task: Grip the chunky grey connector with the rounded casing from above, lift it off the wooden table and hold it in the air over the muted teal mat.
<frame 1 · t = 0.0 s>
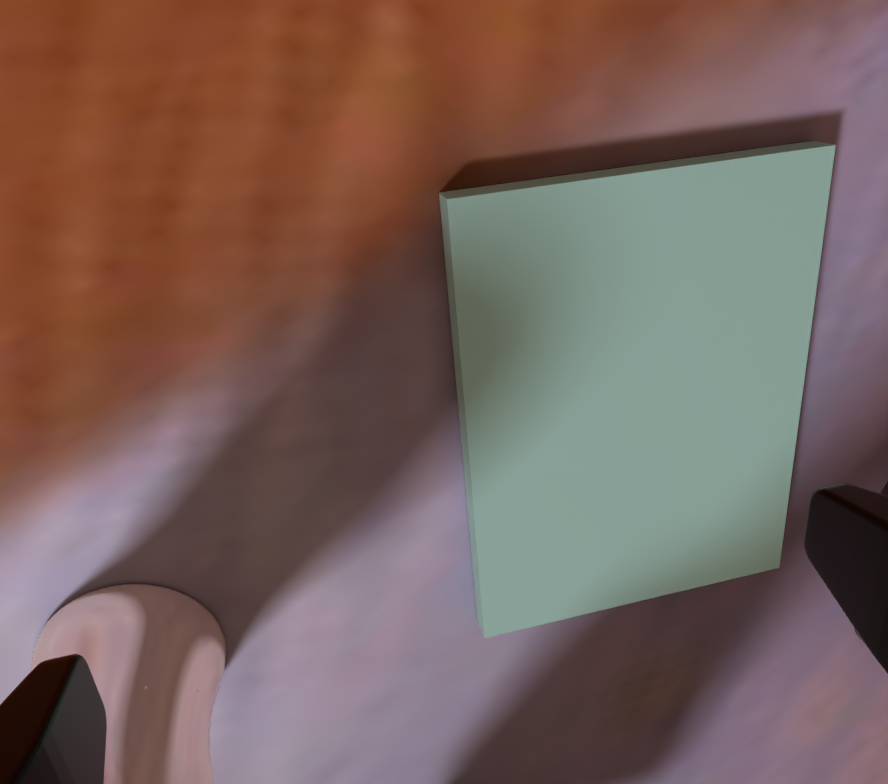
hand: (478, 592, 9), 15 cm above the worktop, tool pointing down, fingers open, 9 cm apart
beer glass: (134, 650, 26), on the worktop
mat: (629, 403, 26), on the worktop
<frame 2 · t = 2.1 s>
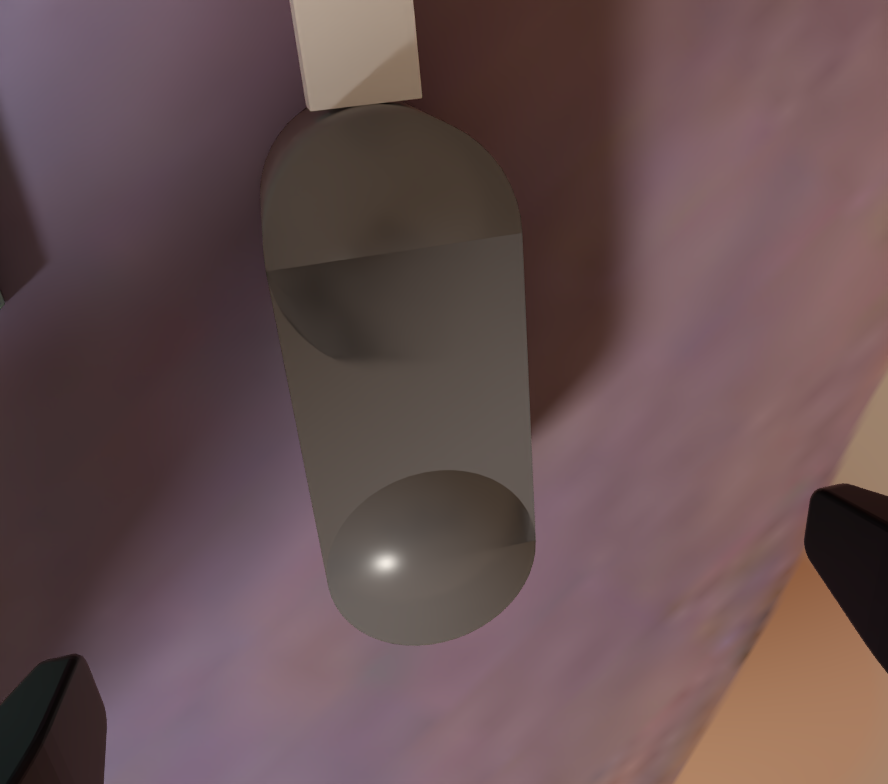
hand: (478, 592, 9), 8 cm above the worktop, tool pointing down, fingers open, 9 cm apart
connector: (381, 339, 17), on the worktop
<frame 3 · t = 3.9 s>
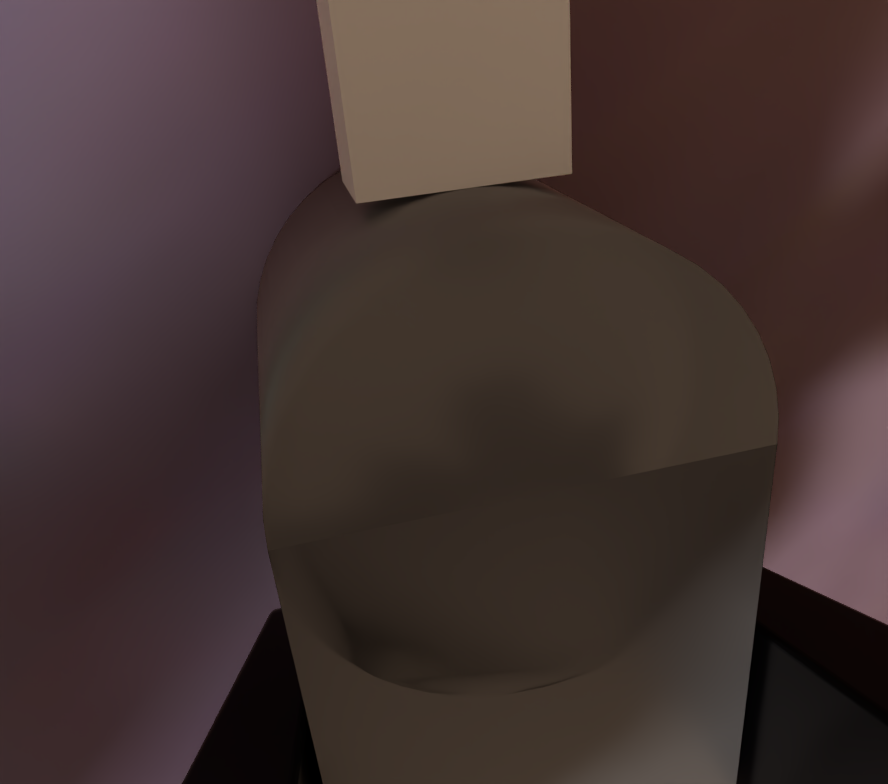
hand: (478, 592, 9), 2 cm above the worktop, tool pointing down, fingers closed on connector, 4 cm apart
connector: (448, 521, 11), on the worktop, touching gripper
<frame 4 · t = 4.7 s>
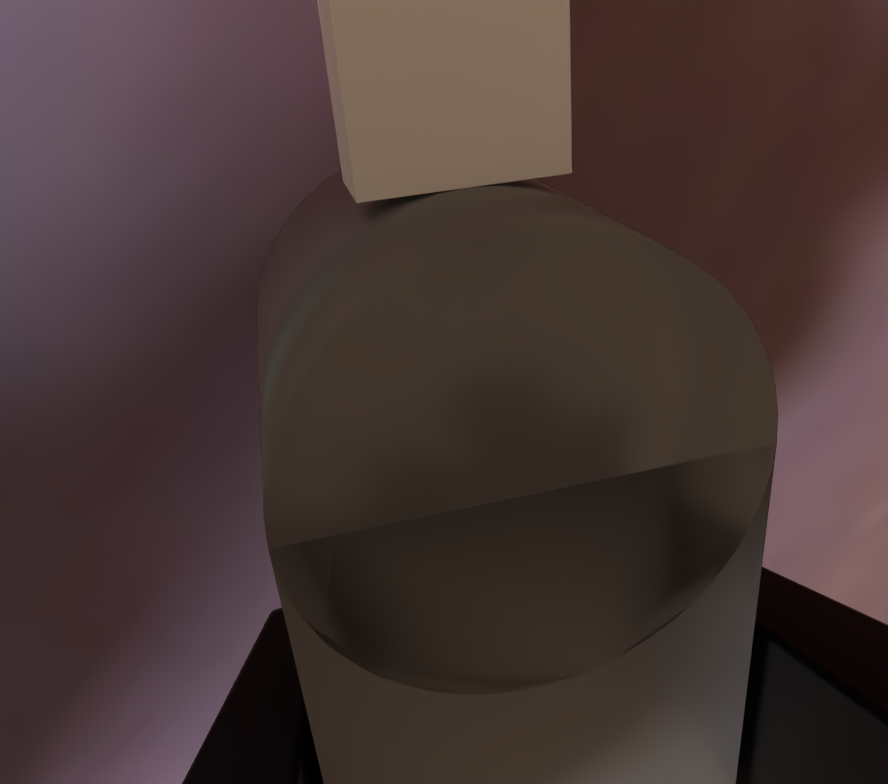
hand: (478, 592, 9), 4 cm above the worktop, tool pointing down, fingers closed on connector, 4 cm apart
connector: (448, 520, 11), point 2 cm above the worktop, touching gripper
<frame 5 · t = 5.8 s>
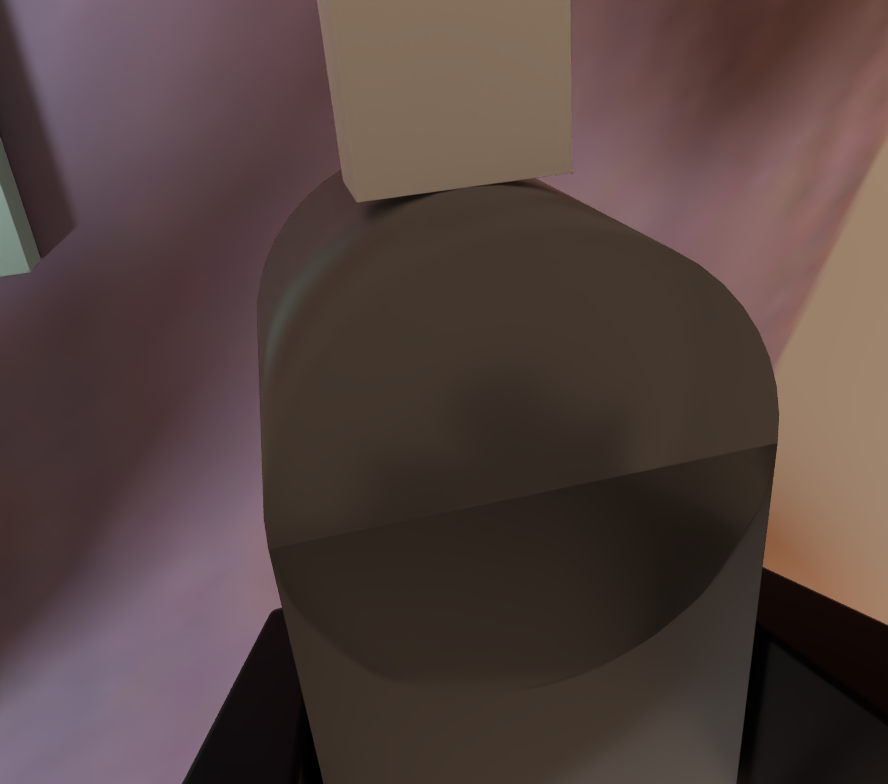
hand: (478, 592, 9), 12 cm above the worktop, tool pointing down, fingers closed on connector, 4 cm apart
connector: (448, 520, 11), point 10 cm above the worktop, touching gripper
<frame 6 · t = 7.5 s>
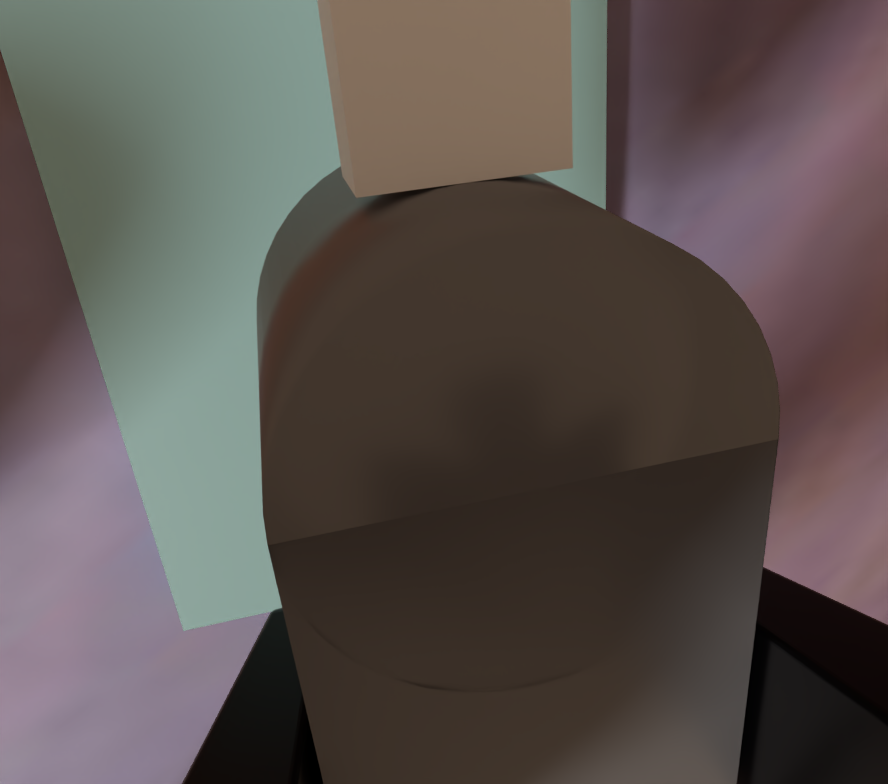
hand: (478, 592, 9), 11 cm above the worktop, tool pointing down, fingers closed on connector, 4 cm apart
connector: (448, 518, 11), point 9 cm above the worktop, touching gripper
mat: (359, 301, 19), on the worktop
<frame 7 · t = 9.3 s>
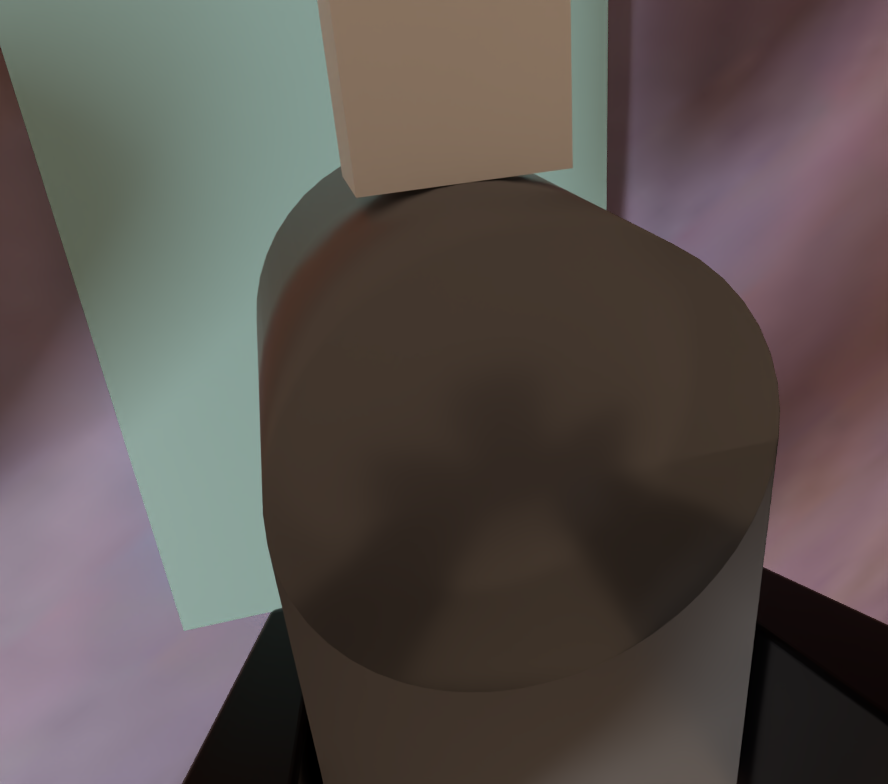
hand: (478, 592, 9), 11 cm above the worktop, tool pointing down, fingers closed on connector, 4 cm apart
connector: (448, 518, 11), point 9 cm above the worktop, touching gripper
mat: (360, 301, 19), on the worktop
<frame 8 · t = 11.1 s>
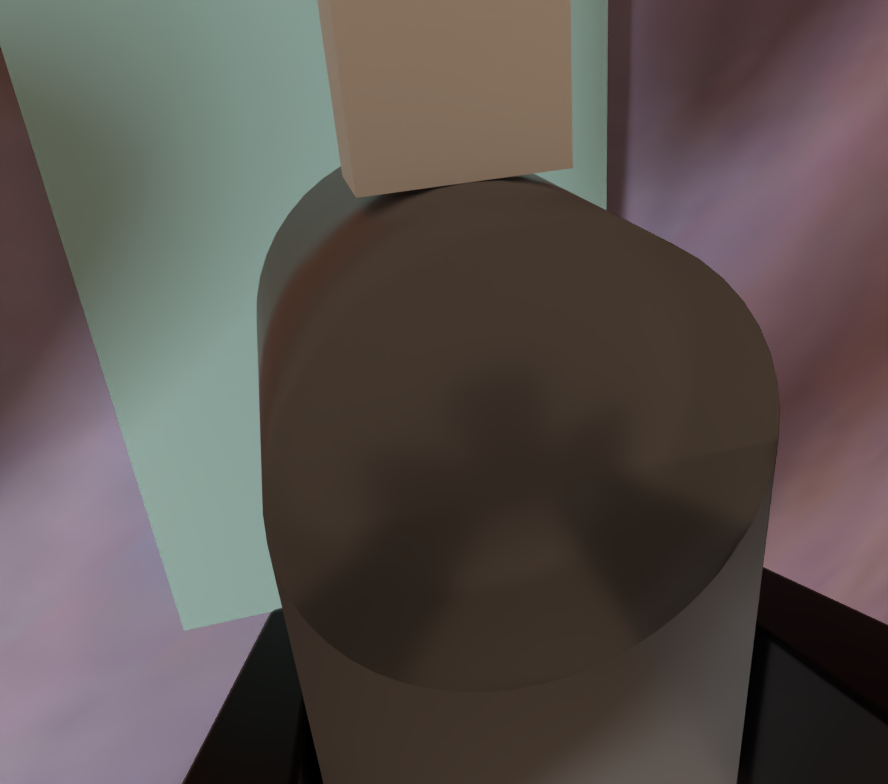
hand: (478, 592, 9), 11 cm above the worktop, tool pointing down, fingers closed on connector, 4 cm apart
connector: (448, 518, 11), point 9 cm above the worktop, touching gripper
mat: (360, 301, 19), on the worktop
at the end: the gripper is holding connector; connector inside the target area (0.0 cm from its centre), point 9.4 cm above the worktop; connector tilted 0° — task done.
